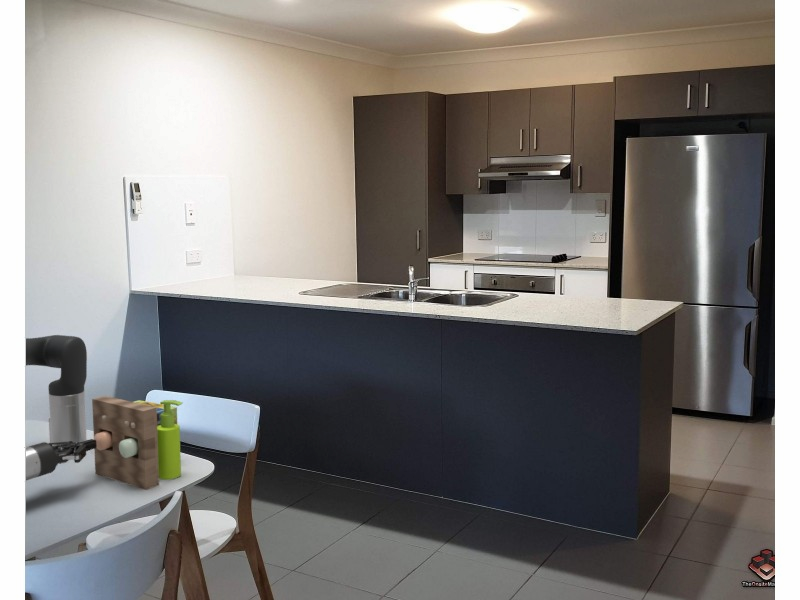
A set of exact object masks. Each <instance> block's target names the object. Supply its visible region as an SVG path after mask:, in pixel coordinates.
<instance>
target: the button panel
mask: <svg viewBox="0 0 800 600" xmlns="http://www.w3.org/2000/svg"><path fill="white" fill-rule="evenodd" d="M91 400H92V424H93V428H92V429H93V437H94V436H95V435H96V434H97V433H101V432H104V431H111V432H112V442H113V447H111V448H107V449H104V450H98V449H97V448H95V449H93V450H94V471H95V475H99V476H102V477H105V478H108V479H112V480H114V481H118V482H121V483H124V484H127V485H130V486H133V487H137V488H140V489H143V490H149V489H151V488H154V487H156V486H159V485H160V479H159V468H158V438H157V407H152V406H148V405H143V404H139V403H135V402H134V401H130V400H126V399H120V398H116V397H111V396H108V395H103V396H98V397H94V398H92V399H91ZM132 437H133V438H136V439H138V454H137V455H134V456H131V457H128V458H124V457H123V456H122V455H121V453H120V451H119V444H120V442H121V441H122V440H126V439H129V438H132Z"/></svg>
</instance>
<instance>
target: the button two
mask: <svg viewBox="0 0 800 600" xmlns="http://www.w3.org/2000/svg"><path fill="white" fill-rule="evenodd" d="M119 451H120V453H121V455H122V456H123V457H124V458H128V457H131V456H134V455H137V454H138V439H136V438H133V437H132V438H129V439H126V440H122V441H121V442H120V444H119Z"/></svg>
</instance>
